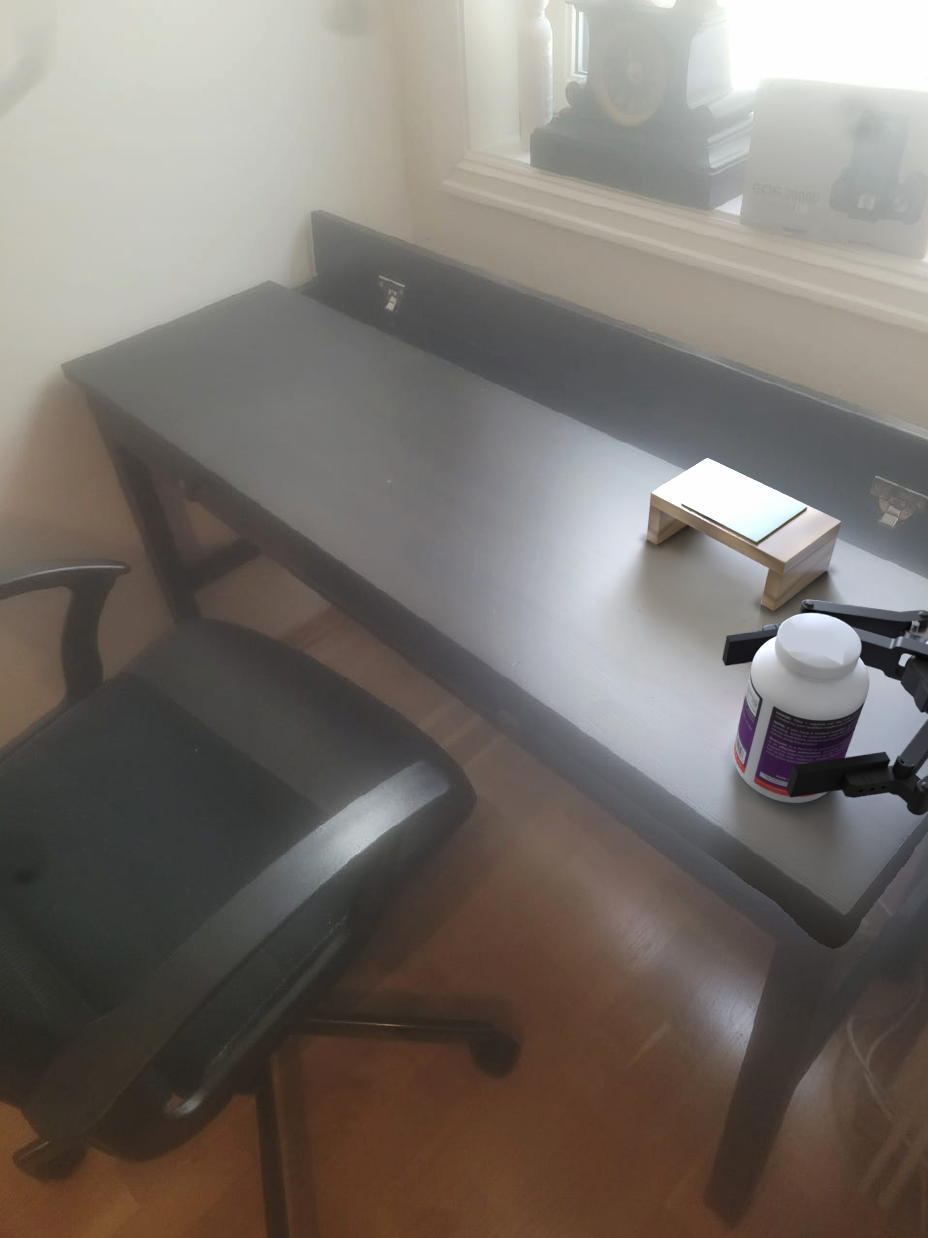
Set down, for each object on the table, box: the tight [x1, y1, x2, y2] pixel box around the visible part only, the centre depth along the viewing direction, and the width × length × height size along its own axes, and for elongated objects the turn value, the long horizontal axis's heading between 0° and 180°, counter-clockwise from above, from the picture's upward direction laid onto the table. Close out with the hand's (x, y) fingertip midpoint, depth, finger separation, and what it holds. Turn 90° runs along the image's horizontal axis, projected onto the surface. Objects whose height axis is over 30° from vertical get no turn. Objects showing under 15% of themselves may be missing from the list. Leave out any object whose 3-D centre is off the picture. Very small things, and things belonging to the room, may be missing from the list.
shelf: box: [646, 457, 842, 612], centre depth 87 cm, size 16×9×6 cm, turn 40°
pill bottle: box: [732, 613, 870, 804], centre depth 65 cm, size 8×8×14 cm
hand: (755, 711), depth 64 cm, fingers open, 12 cm apart
